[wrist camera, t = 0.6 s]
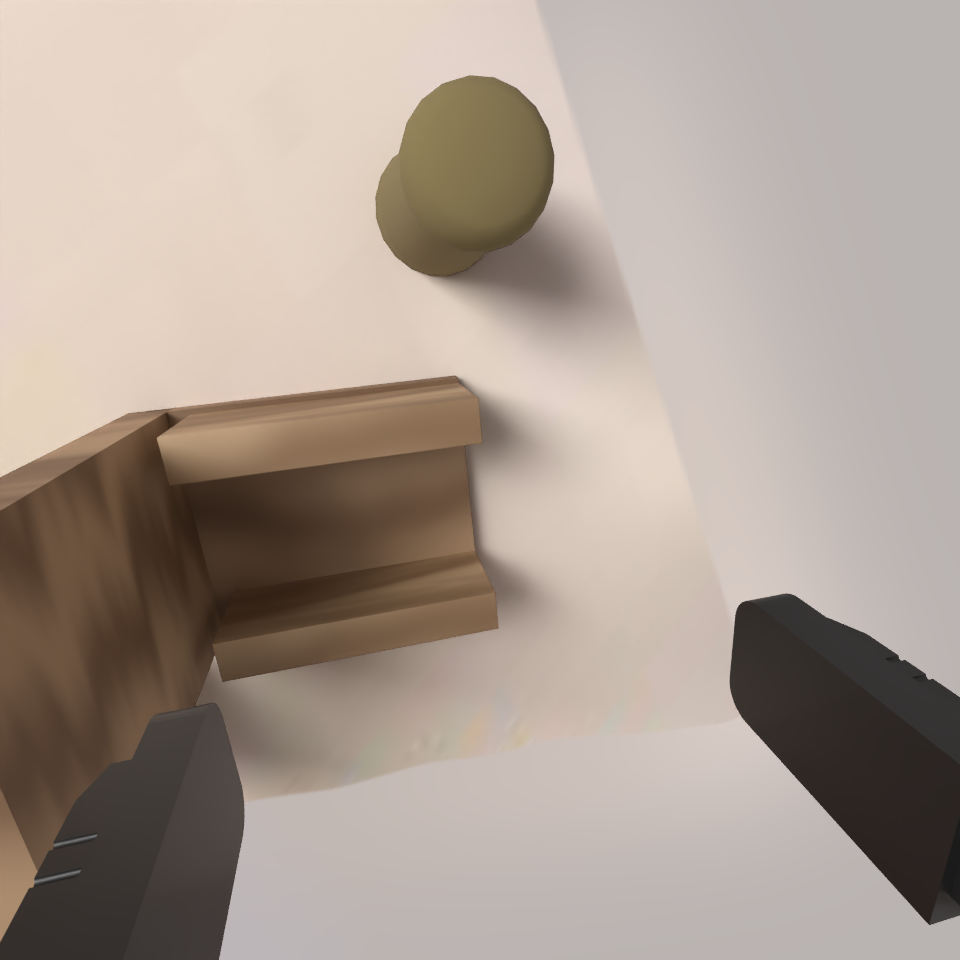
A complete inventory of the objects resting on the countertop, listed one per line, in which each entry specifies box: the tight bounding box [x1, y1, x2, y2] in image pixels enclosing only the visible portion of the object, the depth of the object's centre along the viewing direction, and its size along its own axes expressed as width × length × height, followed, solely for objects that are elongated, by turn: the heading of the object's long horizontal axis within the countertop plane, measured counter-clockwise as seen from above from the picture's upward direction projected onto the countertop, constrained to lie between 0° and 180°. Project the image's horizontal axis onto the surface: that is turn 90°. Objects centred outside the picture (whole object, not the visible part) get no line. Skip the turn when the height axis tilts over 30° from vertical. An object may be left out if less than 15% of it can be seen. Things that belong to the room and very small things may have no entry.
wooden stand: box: [0, 376, 498, 942], centre depth 23 cm, size 12×16×18 cm
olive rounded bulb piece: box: [376, 76, 554, 276], centre depth 23 cm, size 6×6×11 cm
